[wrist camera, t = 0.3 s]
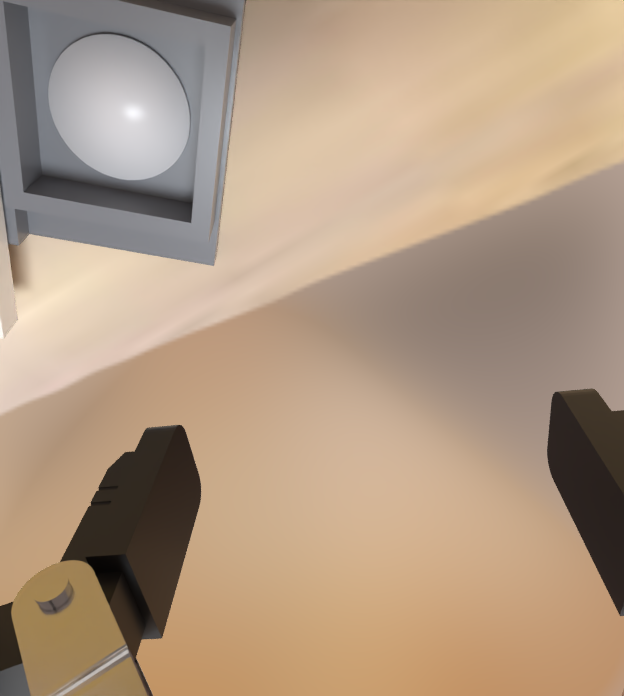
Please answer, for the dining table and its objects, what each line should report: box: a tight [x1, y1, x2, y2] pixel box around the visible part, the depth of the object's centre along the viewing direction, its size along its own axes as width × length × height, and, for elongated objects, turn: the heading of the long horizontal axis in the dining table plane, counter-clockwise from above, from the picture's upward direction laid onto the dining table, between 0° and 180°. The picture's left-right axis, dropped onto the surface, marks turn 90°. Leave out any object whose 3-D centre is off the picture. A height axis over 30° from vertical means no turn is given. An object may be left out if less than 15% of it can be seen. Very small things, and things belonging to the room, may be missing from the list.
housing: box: [0, 0, 246, 266], centre depth 27 cm, size 16×21×5 cm
